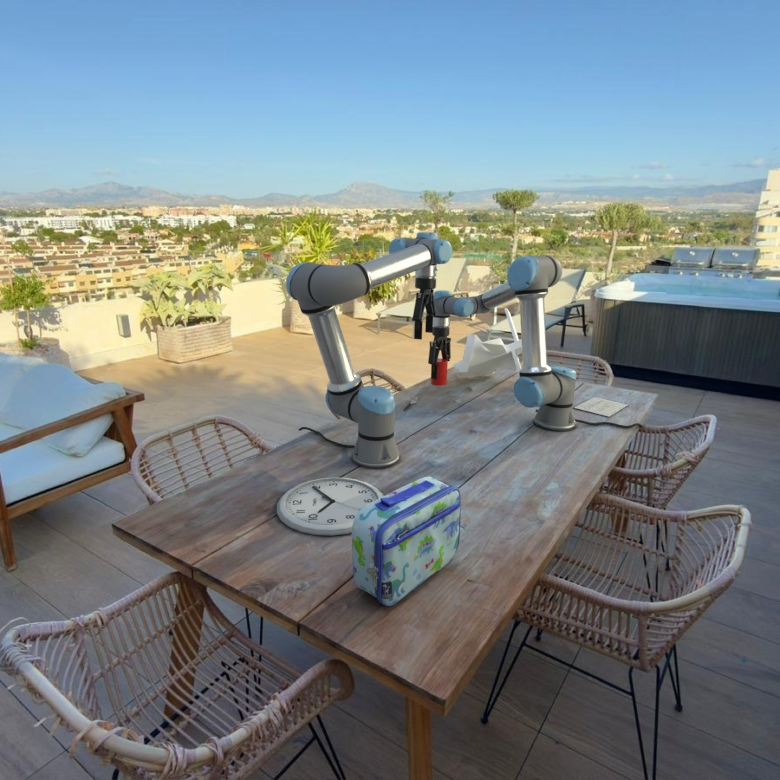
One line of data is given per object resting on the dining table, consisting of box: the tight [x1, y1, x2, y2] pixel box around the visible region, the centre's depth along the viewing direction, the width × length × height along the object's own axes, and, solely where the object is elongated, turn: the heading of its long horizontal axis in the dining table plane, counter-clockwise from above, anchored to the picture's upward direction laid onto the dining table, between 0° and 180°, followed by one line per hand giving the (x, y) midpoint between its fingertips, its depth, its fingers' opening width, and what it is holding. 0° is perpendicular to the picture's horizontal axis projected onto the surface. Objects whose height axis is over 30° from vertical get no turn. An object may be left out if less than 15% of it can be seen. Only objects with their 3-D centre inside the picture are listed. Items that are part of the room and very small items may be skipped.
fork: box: [403, 395, 419, 411], centre depth 222 cm, size 3×16×2 cm, turn 160°
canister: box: [430, 357, 449, 387], centre depth 234 cm, size 7×7×11 cm
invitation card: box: [573, 396, 629, 418], centre depth 226 cm, size 21×1×15 cm
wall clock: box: [276, 476, 385, 537], centre depth 142 cm, size 30×2×30 cm
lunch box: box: [351, 476, 462, 607], centre depth 111 cm, size 26×11×21 cm, turn 135°
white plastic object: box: [452, 307, 522, 379], centre depth 256 cm, size 37×45×31 cm
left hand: (423, 335), depth 193 cm, fingers open, 13 cm apart
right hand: (438, 376), depth 235 cm, fingers closed on canister, 7 cm apart
